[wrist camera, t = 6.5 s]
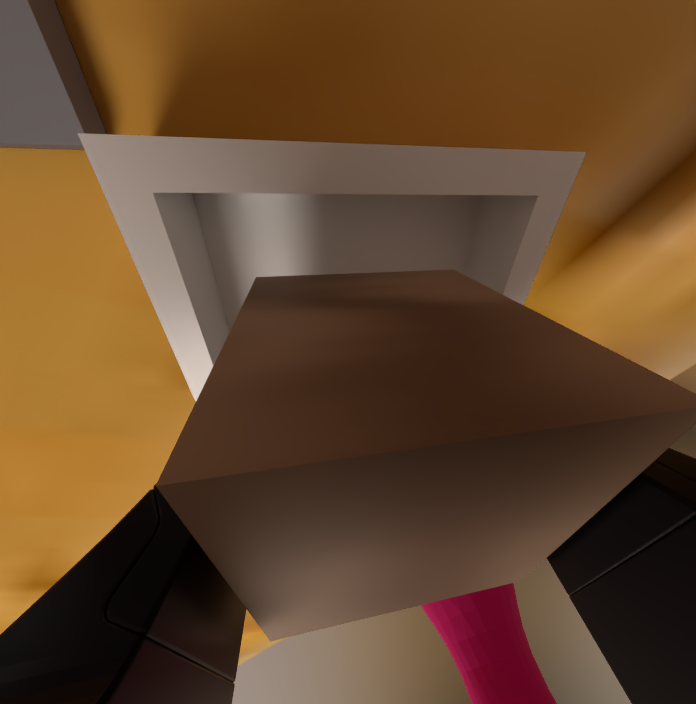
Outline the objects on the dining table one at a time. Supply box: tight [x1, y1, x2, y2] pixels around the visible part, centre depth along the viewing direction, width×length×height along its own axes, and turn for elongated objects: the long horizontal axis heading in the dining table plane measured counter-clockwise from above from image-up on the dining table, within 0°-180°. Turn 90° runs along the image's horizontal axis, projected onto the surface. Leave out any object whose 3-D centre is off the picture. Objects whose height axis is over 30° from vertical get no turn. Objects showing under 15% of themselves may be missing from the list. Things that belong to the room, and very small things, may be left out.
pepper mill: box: [421, 583, 557, 704], centre depth 14 cm, size 7×7×20 cm
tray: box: [77, 133, 586, 402], centre depth 10 cm, size 12×12×3 cm
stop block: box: [156, 270, 696, 641], centre depth 7 cm, size 6×6×6 cm
